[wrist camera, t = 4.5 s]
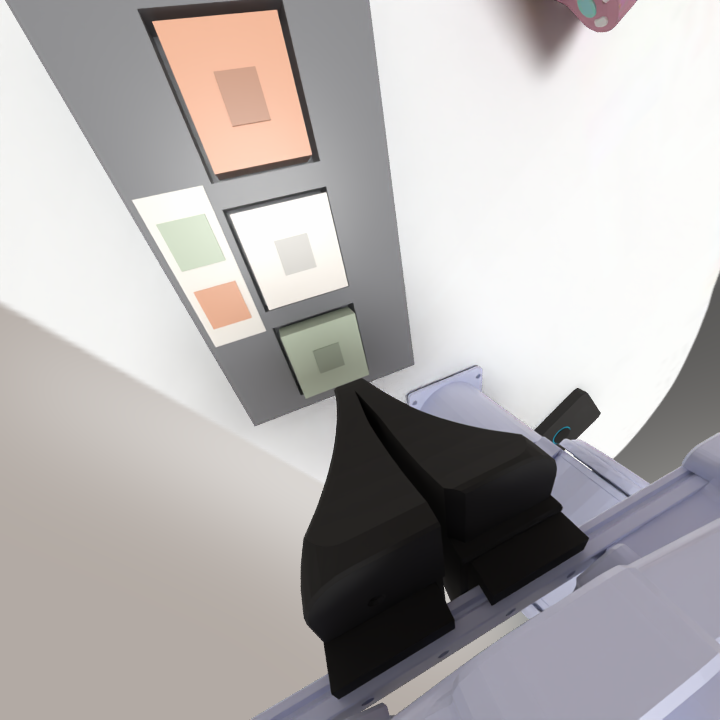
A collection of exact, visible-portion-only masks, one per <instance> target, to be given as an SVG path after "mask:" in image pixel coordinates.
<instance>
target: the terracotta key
mask: <svg viewBox="0 0 720 720" xmlns="http://www.w3.org/2000/svg"><path fill="white" fill-rule="evenodd" d="M152 23H153V25H154V27H155V30H156V32H157V35H158V37H159V40H160V42H161V44H162V47H163V49H164V52H165V54H166V57H167V59H168V62H169V64H170V66H171V69H172V71H173V74H174V76H175V79H176V81H177V83H178V86H179V88H180V91H181V93H182V96H183V98H184V100H185V103H186V105H187V108H188V110H189V113H190V115H191V118H192V120H193V122H194V125H195V127H196V130H197V132H198V135H199V137H200V139H201V142H202V144H203V147H204V149H205V152H206V154H207V156H208V159H209V161H210V164H211V166H212V169H213V171H214V174H215V175H216V176H217V178H218V179H219V180H222V179H227V178H232V177H237V176H242V175H246V174H251V173H256V172H261V171H266V170H271V169H275V168H280V167H285V166H290V165H295V164H300V163H304V162H308V160H309V159H310V157H311V156H312V152H311V148H310V143H309V139H308V135H307V131H306V127H305V123H304V119H303V115H302V111H301V107H300V102H299V98H298V94H297V90H296V86H295V82H294V78H293V74H292V70H291V66H290V61H289V57H288V53H287V49H286V45H285V41H284V37H283V33H282V29H281V25H280V20H279V16H278V12H277V10H269V11H258V12H247V13H236V14H225V15H215V16H204V17H193V18H182V19H172V20H161V21H152Z"/></svg>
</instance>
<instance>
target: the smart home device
mask: <svg viewBox="0 0 720 720" xmlns="http://www.w3.org/2000/svg"><path fill="white" fill-rule="evenodd" d="M600 414H601V413H600V411H599V410H598V408H597V407H596V405H595V404H594V402H593V400H592V399H591V397H590V396H589V394H588V393H587V392H585V391H583V390H581V389H579V388H577V389H575V390H574V391H573V392H572V393H571V394H570V395H569V396H568V397H567V398H566V399H565V400H564V401H563V402H562V403H561V404H560V405H559V406H558V407H557V408H556V409H555V410H554V411H553V412H552V413H551V414H550V415H549V416H548V417H547V418H546V419H545V420H544V421H543V422H542V423H541V424H540V425H539V426H538V427H537V428H536V429H535V430H534V431H535V432H537V433H538V434H539V435H541V436H542V437H546V438H547V439H548V440H550V441H551V442H552V443H554V444H555V445H557V446H558V447H559V448H561V449H562V450H563V451H564V450H565V448H563V447H562V446H561V445H560V443H561V442H562V440H564V439H569V440H576V439H577V438H578V437H579V436H580V435H581V434H582V433H583V432H584V431H585V430H586V429H587V428H588V427H589V426H590V425H591V424H592V423H593V422H594V421H595V420H596V419H597V418H598V417H599V415H600Z"/></svg>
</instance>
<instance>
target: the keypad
mask: <svg viewBox="0 0 720 720" xmlns="http://www.w3.org/2000/svg"><path fill="white" fill-rule="evenodd" d="M5 1H6V3H7V4H8V6H9V8H10V9H11V11H12V13H13V14H14V16H15V18H16V20H17V21H18V23H19V25H20V26H21V28H22V30H23V32H24V33H25V35H26V37H27V38H28V40H29V42H30V43H31V45H32V47H33V49H34V50H35V52H36V54H37V55H38V57H39V59H40V61H41V62H42V64H43V66H44V67H45V69H46V71H47V72H48V74H49V76H50V78H51V79H52V81H53V83H54V84H55V86H56V88H57V90H58V91H59V93H60V95H61V96H62V98H63V100H64V101H65V103H66V105H67V107H68V108H69V110H70V112H71V113H72V115H73V117H74V119H75V120H76V122H77V124H78V125H79V127H80V129H81V130H82V132H83V134H84V136H85V137H86V139H87V141H88V142H89V144H90V146H91V148H92V149H93V151H94V153H95V154H96V156H97V158H98V159H99V161H100V163H101V165H102V166H103V168H104V170H105V171H106V173H107V175H108V177H109V178H110V180H111V182H112V183H113V185H114V187H115V188H116V190H117V192H118V194H119V195H120V197H121V199H122V200H123V202H124V204H125V206H126V207H127V209H128V211H129V212H130V214H131V216H132V217H133V219H134V221H135V223H136V224H137V226H138V228H139V229H140V231H141V233H142V235H143V236H144V238H145V240H146V241H147V243H148V245H149V246H150V248H151V250H152V252H153V253H154V255H155V257H156V258H157V260H158V262H159V264H160V265H161V267H162V269H163V270H164V272H165V274H166V275H167V277H168V279H169V281H170V282H171V284H172V286H173V287H174V289H175V291H176V293H177V294H178V296H179V298H180V299H181V301H182V303H183V304H184V306H185V308H186V310H187V311H188V313H189V315H190V316H191V318H192V320H193V322H194V323H195V325H196V327H197V328H198V330H199V332H200V333H201V335H202V337H203V339H204V340H205V342H206V344H207V345H208V347H209V349H210V351H211V352H212V354H213V356H214V357H215V359H216V361H217V362H218V364H219V366H220V368H221V369H222V371H223V373H224V374H225V376H226V378H227V380H228V381H229V383H230V385H231V386H232V388H233V390H234V391H235V393H236V395H237V397H238V398H239V400H240V402H241V403H242V405H243V407H244V409H245V410H246V412H247V414H248V415H249V417H250V419H251V420H252V422H253V424H254V426H257V425H260V424H262V423H265V422H267V421H270V420H272V419H275V418H278V417H280V416H283V415H285V414H288V413H291V412H293V411H296V410H298V409H301V408H303V407H306V406H309V405H311V404H314V403H316V402H319V401H322V400H324V399H327V398H329V397H332V396H334V395H335V393H334V390H335V388H336V387H335V388H333V389H330V390H328V391H325V392H322V393H320V394H317V395H314V396H312V397H309V398H307V399H306V398H305V396H304V393H303V391H302V389H301V386H300V384H299V381H298V379H297V376H296V374H295V372H294V369H293V367H292V364H291V362H290V360H289V357H288V355H287V352H286V350H285V347H284V345H283V343H282V340H281V338H280V332H279V329H280V328H283V327H286V326H289V325H292V324H295V323H298V322H301V321H305V320H308V319H311V318H314V317H317V316H320V315H323V314H326V313H329V312H332V311H335V310H339V309H342V308H345V307H349V308H350V309H351V310H352V311H353V312H354V313H355V316H356V320H357V325H358V329H359V333H360V337H361V341H362V346H363V350H364V354H365V358H366V363H367V367H368V371H369V375H367V376H364V377H362V378H363V379H365V380H366V381H368V382H371V381H373V380H376V379H378V378H381V377H384V376H386V375H389V374H391V373H394V372H396V371H399V370H402V369H404V368H407V367H409V366H412V365H414V358H413V350H412V342H411V334H410V326H409V318H408V310H407V302H406V294H405V286H404V278H403V270H402V261H401V253H400V245H399V237H398V229H397V221H396V213H395V205H394V197H393V189H392V181H391V173H390V165H389V156H388V148H387V140H386V132H385V124H384V116H383V108H382V100H381V92H380V84H379V76H378V68H377V59H376V51H375V43H374V35H373V27H372V19H371V11H370V3H369V0H5ZM269 10H277V12H278V16H279V20H280V25H281V29H282V33H283V37H284V41H285V45H286V49H287V53H288V57H289V61H290V66H291V70H292V74H293V78H294V82H295V86H296V90H297V94H298V98H299V102H300V107H301V111H302V115H303V119H304V123H305V127H306V131H307V135H308V139H309V143H310V148H311V152H312V156H311V157H310V159H309V160H308V162H304V163H300V164H295V165H290V166H285V167H280V168H275V169H271V170H266V171H261V172H256V173H251V174H246V175H242V176H237V177H232V178H227V179H222V180H219V179H218V178H217V176H216V175H215V174H214V171H213V169H212V166H211V164H210V161H209V159H208V156H207V154H206V152H205V149H204V147H203V144H202V142H201V139H200V137H199V135H198V132H197V130H196V127H195V125H194V122H193V120H192V118H191V115H190V113H189V110H188V108H187V105H186V103H185V100H184V98H183V96H182V93H181V91H180V88H179V86H178V83H177V81H176V79H175V76H174V74H173V71H172V69H171V66H170V64H169V62H168V59H167V57H166V54H165V52H164V49H163V47H162V44H161V42H160V40H159V37H158V35H157V32H156V30H155V27H154V25H153V23H152V21H161V20H172V19H182V18H193V17H204V16H215V15H225V14H236V13H247V12H258V11H269ZM325 192H326V193H327V197H328V201H329V206H330V210H331V214H332V218H333V223H334V227H335V231H336V235H337V240H338V244H339V248H340V252H341V257H342V261H343V265H344V269H345V274H346V278H347V282H348V286H347V287H343V288H340V289H337V290H334V291H330V292H327V293H324V294H321V295H317V296H314V297H311V298H308V299H304V300H301V301H298V302H295V303H291V304H288V305H285V306H282V307H278V308H275V309H272V310H269V309H268V306H267V304H266V302H265V299H264V297H263V294H262V292H261V289H260V287H259V285H258V282H257V280H256V277H255V275H254V273H253V270H252V268H251V265H250V263H249V260H248V258H247V256H246V253H245V251H244V248H243V246H242V244H241V241H240V239H239V236H238V234H237V231H236V229H235V227H234V224H233V222H232V219H231V217H230V214H235V213H239V212H243V211H248V210H252V209H256V208H260V207H265V206H269V205H273V204H278V203H282V202H286V201H290V200H295V199H299V198H303V197H308V196H312V195H316V194H321V193H325ZM359 379H360V378H359ZM356 380H357V379H356ZM354 381H355V380H354ZM351 382H352V381H351ZM346 384H347V383H346ZM343 385H344V384H343ZM338 387H339V386H338Z"/></svg>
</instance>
